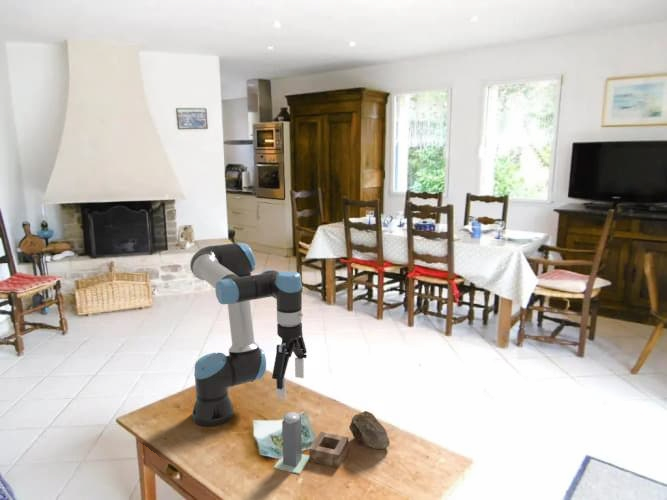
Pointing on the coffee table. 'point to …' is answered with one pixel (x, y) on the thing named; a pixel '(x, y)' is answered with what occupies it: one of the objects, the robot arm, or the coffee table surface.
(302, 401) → the coffee table surface
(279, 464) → the mat
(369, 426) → the rock
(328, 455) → the brown square frame
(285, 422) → the plug
